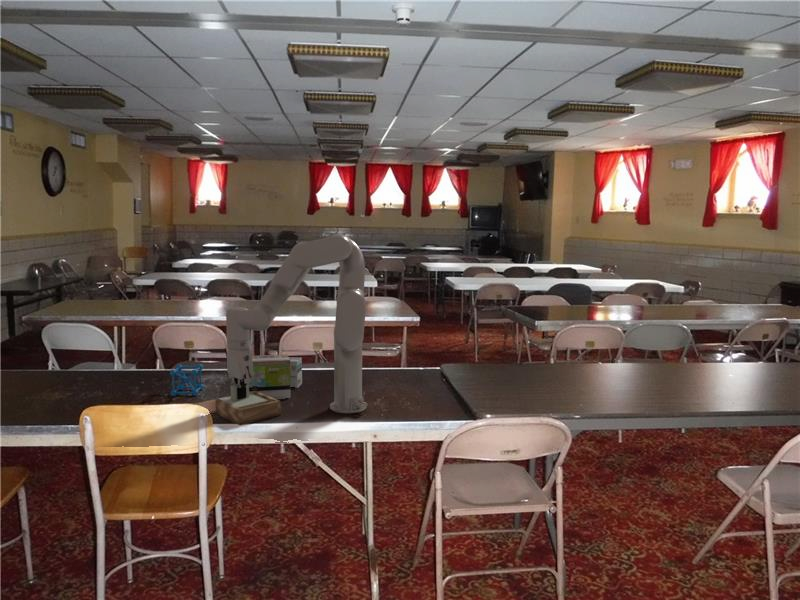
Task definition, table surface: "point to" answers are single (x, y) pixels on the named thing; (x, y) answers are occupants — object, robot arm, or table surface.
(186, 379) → the molecular structure
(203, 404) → the terracotta tile
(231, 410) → the oak box
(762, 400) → the table surface
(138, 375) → the table surface
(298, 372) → the light bulb box
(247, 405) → the cover plate
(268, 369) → the tea box
